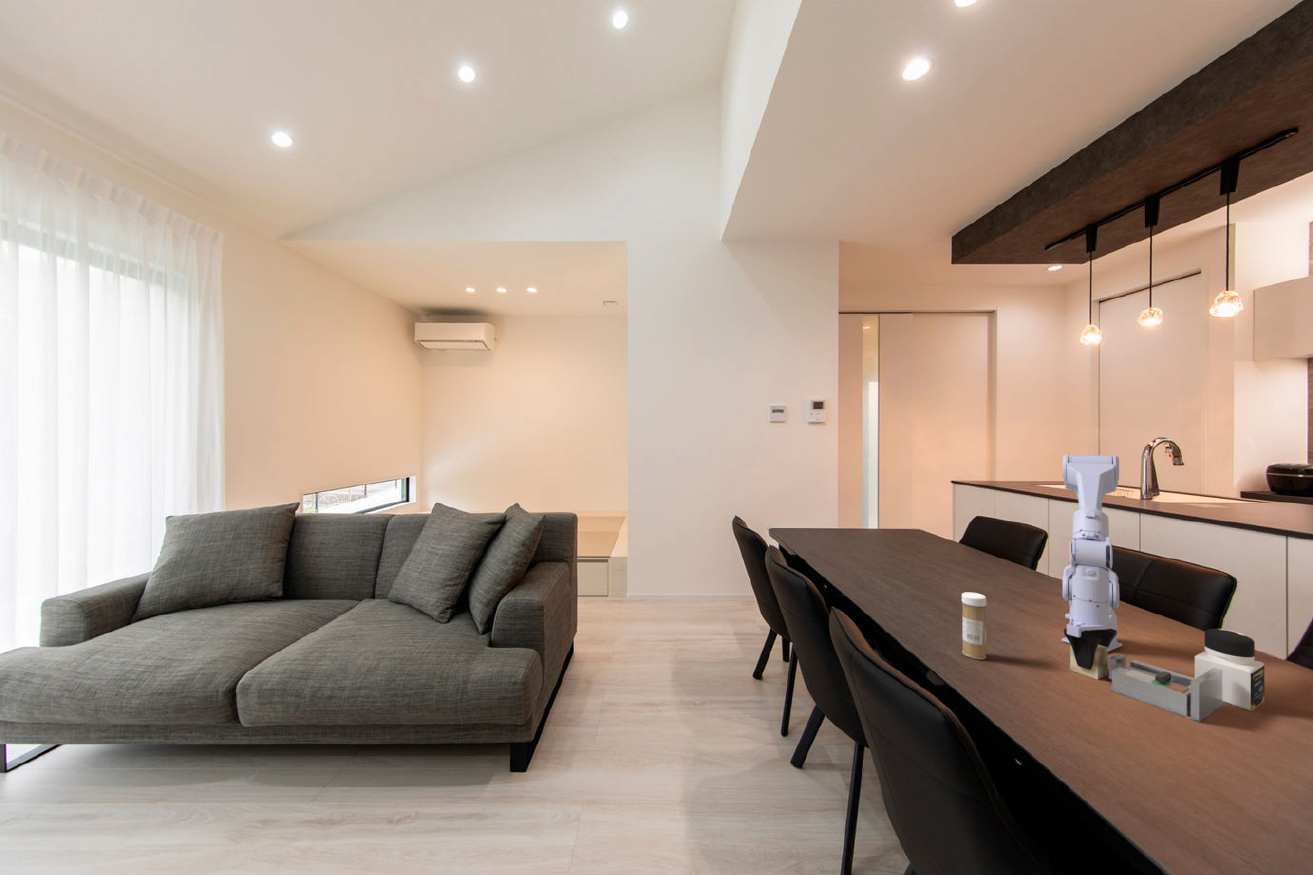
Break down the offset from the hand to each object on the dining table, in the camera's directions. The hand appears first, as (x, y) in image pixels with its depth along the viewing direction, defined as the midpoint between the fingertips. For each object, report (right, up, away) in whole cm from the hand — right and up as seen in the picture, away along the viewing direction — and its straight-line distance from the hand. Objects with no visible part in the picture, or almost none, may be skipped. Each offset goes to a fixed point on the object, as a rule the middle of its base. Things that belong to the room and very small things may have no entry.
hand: (1090, 664), depth 101 cm
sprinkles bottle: (-19, -2, +8) cm, 20 cm away
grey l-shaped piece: (+2, -1, -8) cm, 8 cm away
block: (0, -2, 0) cm, 2 cm away
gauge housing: (+5, -2, -10) cm, 11 cm away
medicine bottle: (+17, -2, -9) cm, 20 cm away
